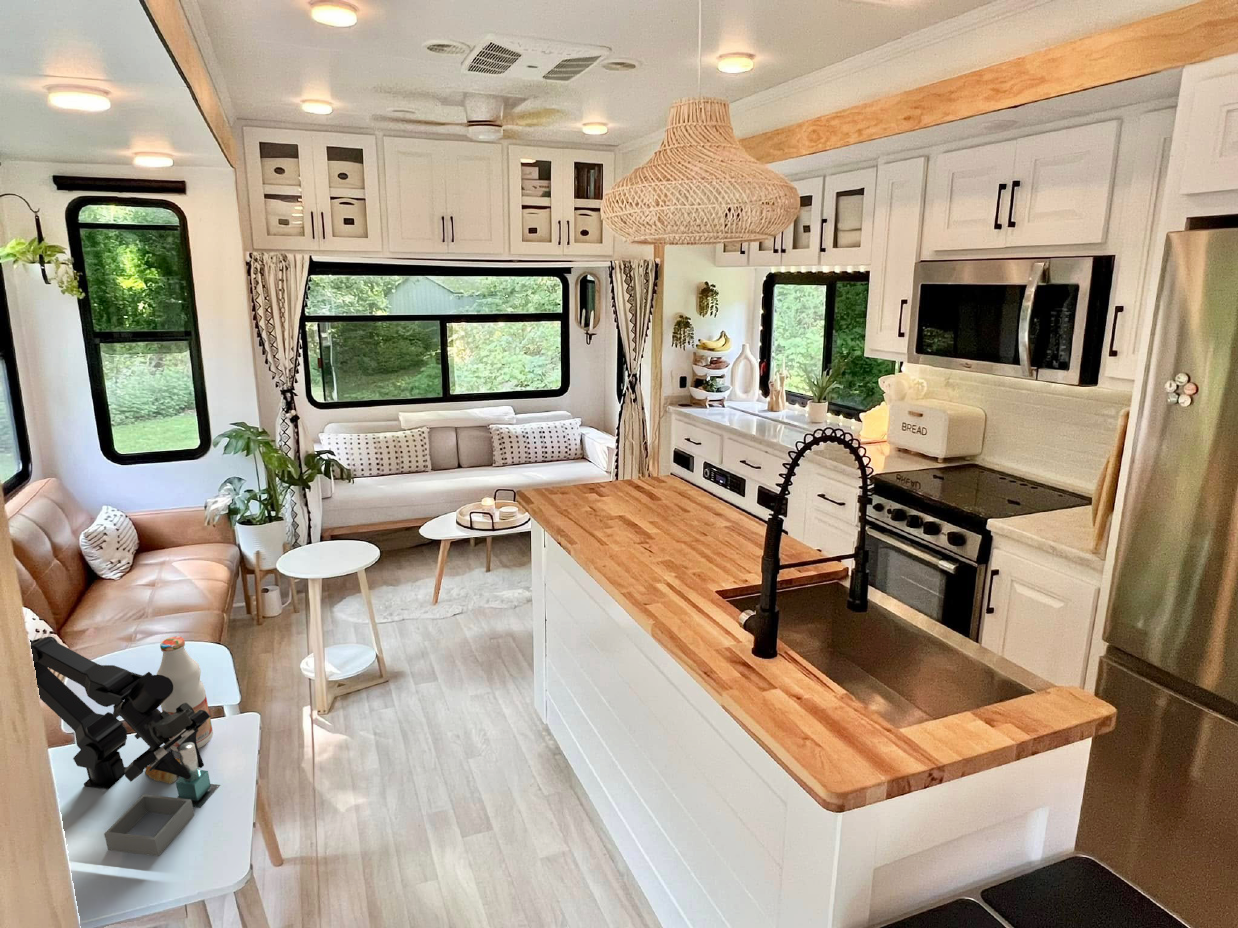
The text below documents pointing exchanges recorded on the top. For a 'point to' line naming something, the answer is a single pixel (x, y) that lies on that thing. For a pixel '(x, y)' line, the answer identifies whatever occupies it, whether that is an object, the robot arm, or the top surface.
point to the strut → (198, 779)
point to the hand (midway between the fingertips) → (196, 772)
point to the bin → (146, 803)
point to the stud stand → (205, 796)
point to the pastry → (162, 775)
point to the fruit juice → (184, 685)
